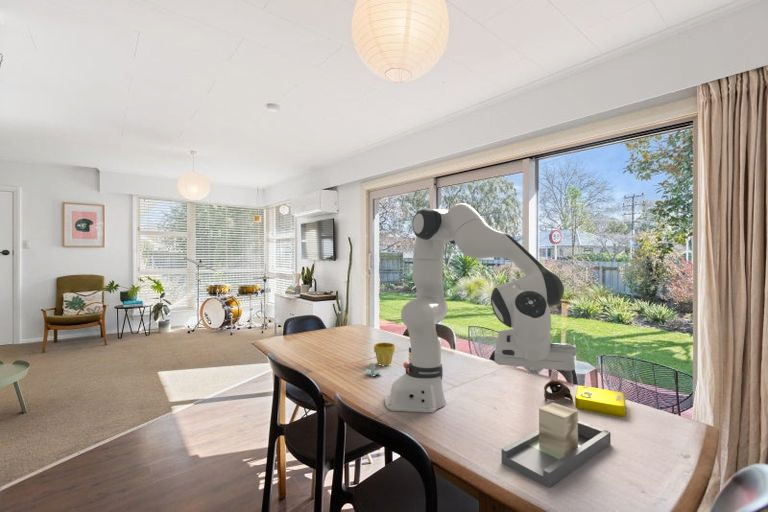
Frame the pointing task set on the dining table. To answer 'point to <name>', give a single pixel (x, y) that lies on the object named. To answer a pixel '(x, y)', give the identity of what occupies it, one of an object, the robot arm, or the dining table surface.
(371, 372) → the pacifier
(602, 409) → the element tile
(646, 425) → the dining table surface
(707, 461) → the dining table surface
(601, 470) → the dining table surface
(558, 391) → the pottery mug
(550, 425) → the block
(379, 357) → the plant pot
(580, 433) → the grey rimmed tray
